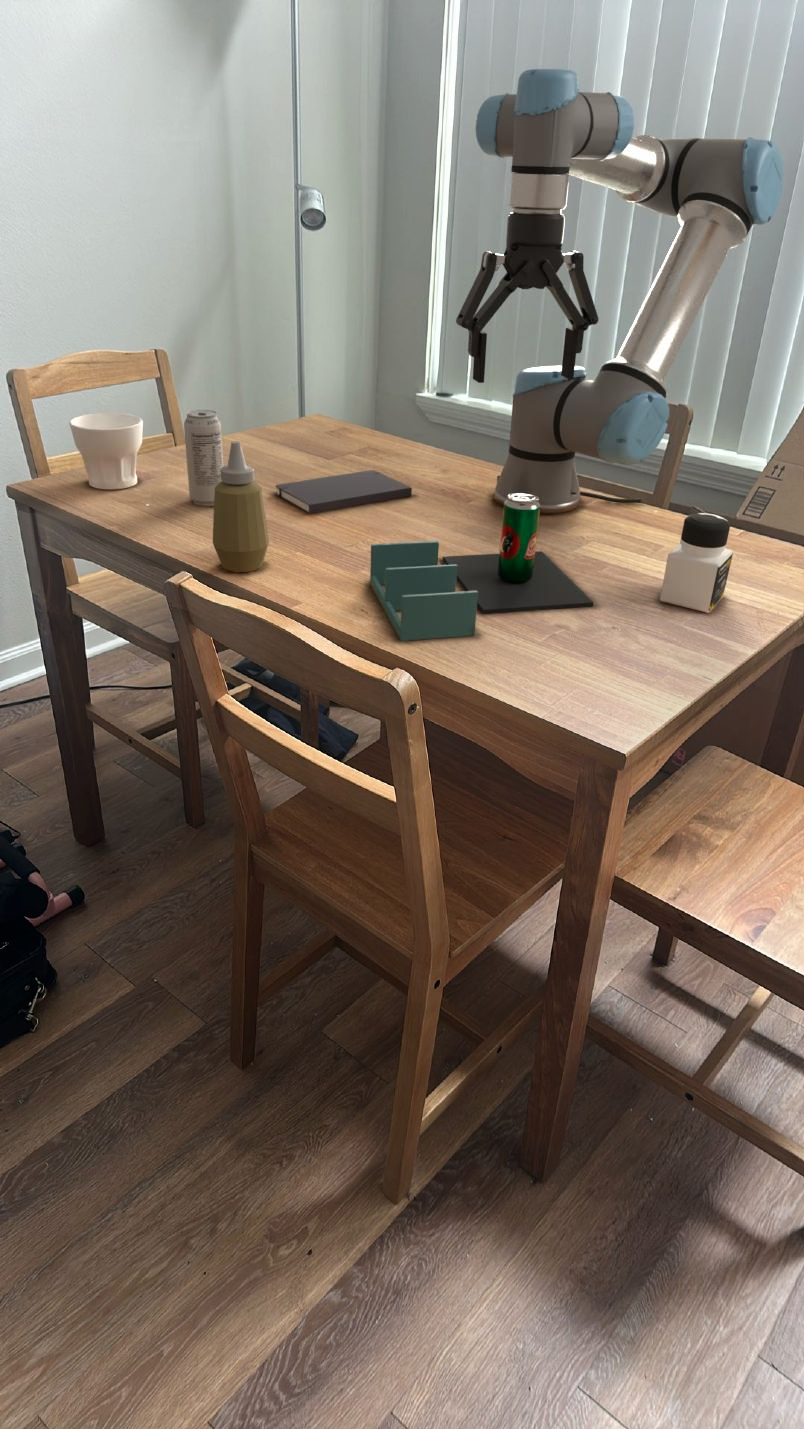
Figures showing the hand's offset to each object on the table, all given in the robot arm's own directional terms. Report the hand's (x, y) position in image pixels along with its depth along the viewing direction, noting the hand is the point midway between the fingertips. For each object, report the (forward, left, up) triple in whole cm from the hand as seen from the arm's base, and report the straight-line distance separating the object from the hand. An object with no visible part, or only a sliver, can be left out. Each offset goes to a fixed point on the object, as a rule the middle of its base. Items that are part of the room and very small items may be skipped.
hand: (523, 379), depth 136 cm
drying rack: (+19, +20, -26) cm, 38 cm away
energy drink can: (+44, -30, -26) cm, 60 cm away
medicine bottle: (-20, +23, -26) cm, 40 cm away
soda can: (+3, +13, -25) cm, 29 cm away
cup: (+60, -43, -26) cm, 79 cm away
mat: (+3, +13, -26) cm, 29 cm away
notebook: (+20, -31, -26) cm, 45 cm away
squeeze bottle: (+41, +1, -26) cm, 49 cm away
